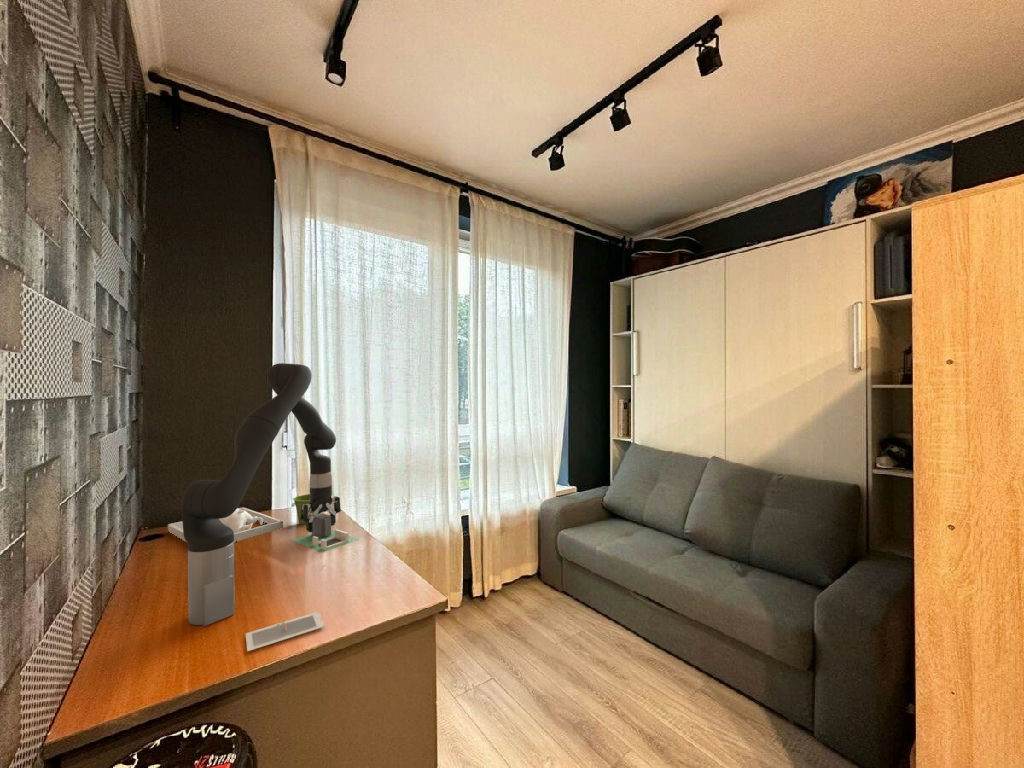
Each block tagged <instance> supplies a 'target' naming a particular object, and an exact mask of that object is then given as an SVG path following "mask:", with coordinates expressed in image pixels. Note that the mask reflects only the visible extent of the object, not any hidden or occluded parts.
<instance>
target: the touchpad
mask: <svg viewBox="0 0 1024 768" xmlns="http://www.w3.org/2000/svg"><path fill="white" fill-rule="evenodd" d="M321 628H325V624H324V622H323V619H322V617H321V614H320V612H319V611H316V612H312V613H310V614H305V615H302V616H299V617H296V618H292V619H288V620H286V621H283V622H279V623H275V624H273V625H269V626H266V627H262V628H260V629H256V630H255V629H254V630H252V631H248V632H246V633H245V640H246V651H247V652H250V651H253V650H256V649H259V648H262V647H266V646H269V645H271V644H275V643H278V642H280V641H284V640H287V639H291V638H294V637H297V636H299V635H303V634H306V633H308V632H312V631H315V630H318V629H321Z"/></svg>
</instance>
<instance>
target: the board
mask: <svg viewBox="0 0 1024 768" xmlns="http://www.w3.org/2000/svg"><path fill="white" fill-rule="evenodd" d="M349 534H350V533H349V532H346V531H344V530H340V529H337V528H336V529H331V535H329V536H326V537H323V538H319V537H316V536H314V535H312V533H310V534H308V535H304V536H301V537H297V538H295V539H291V542H295V543H297V544H299V545H303V546H305V547H308V548H310V549H312V550H314V551H317V552H320V553H322V554H323V553H325V552H328V551H331V550H333V549H337V548H339V547H342V546H345V545H347V544H350V543H353V542H355V541H358V540H360V538H358V537H354V536H351V535H349Z"/></svg>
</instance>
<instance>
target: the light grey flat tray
mask: <svg viewBox="0 0 1024 768" xmlns="http://www.w3.org/2000/svg"><path fill="white" fill-rule="evenodd" d="M238 509H239V510H244V511H246V512H247V513H248V514H250V515H251V516H252V517H255V516H257V517H261V518H262V519H263V520H264V521H263V522H264V523H263V524H264V525H263V524H262V525H260V526H256V527H253V528H252V527H251V529H246V530H245V531H241V532H237V533H234V543H237V542H240V541H243V539H244V540H247V539H250V538H249V537H251V538H254V537H257V535H258V536H260V534H261V535H264V534H263V533H265V534H268V533H272V532H275V531H278V530H277V529H279V530H281V529H280V528H282V529H284V520H282V519H278V518H276V517H273V516H269V515H267V514H264V513H260V512H259V511H255V510H252V509H249V508H246V507H243V506H242V507H238ZM265 523H267V524H265ZM274 530H275V531H274ZM168 531H169V532H170V533H172V534H174V535H175V536H174V535H173V536H174V537H176V536H177V537H176V538H177V539H179V538H180V540H181V539H182V540H181V541H183V542H185V541H186V540H185V538H184V534H183V522H182V520H181V521H178V522H174V523H173V522H171V523H169V524H167V532H168ZM271 531H272V532H271ZM267 532H268V533H267ZM170 533H169V534H170ZM172 534H171V535H172ZM253 536H254V537H253ZM246 538H247V539H246ZM236 541H237V542H236Z"/></svg>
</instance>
